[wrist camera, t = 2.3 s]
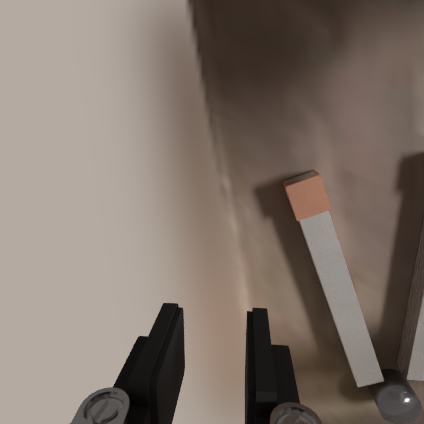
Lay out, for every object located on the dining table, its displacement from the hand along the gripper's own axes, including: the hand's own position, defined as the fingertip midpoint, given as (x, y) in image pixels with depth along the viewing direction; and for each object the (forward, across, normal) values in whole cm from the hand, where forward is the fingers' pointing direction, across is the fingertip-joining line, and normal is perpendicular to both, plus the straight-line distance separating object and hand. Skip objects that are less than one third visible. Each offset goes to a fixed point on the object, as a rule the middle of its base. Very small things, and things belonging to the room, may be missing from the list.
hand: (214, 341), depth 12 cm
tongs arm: (+17, -9, +6) cm, 20 cm away
